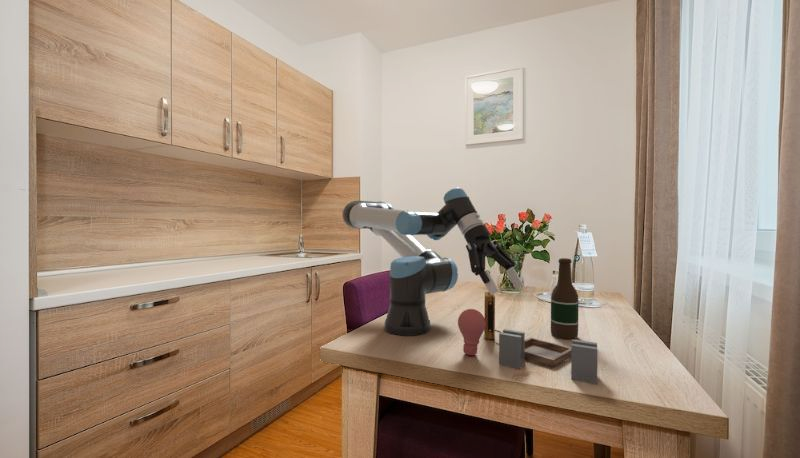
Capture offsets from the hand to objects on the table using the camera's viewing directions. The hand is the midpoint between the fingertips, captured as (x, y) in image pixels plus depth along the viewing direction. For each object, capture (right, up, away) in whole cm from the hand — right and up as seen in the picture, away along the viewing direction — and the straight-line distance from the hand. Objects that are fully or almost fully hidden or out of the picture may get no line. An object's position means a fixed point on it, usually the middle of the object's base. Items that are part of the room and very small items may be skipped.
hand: (508, 290), depth 101 cm
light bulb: (-13, -15, -10) cm, 22 cm away
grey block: (-4, -15, -15) cm, 22 cm away
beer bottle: (+19, -15, +7) cm, 26 cm away
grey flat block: (+10, -15, -23) cm, 30 cm away
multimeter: (-1, -15, +5) cm, 16 cm away
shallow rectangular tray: (+6, -15, -10) cm, 19 cm away
